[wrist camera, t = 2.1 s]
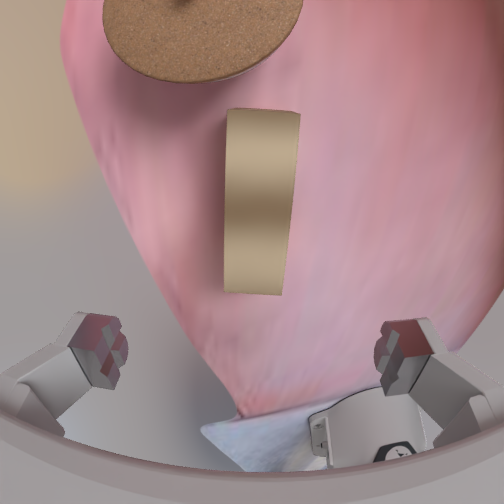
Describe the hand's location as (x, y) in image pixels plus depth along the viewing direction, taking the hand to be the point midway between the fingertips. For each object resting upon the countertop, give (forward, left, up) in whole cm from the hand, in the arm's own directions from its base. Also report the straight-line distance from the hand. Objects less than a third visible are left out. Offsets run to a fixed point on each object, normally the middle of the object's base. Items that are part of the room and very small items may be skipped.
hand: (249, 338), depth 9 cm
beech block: (0, 0, -17) cm, 17 cm away
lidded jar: (+13, +3, -17) cm, 21 cm away
